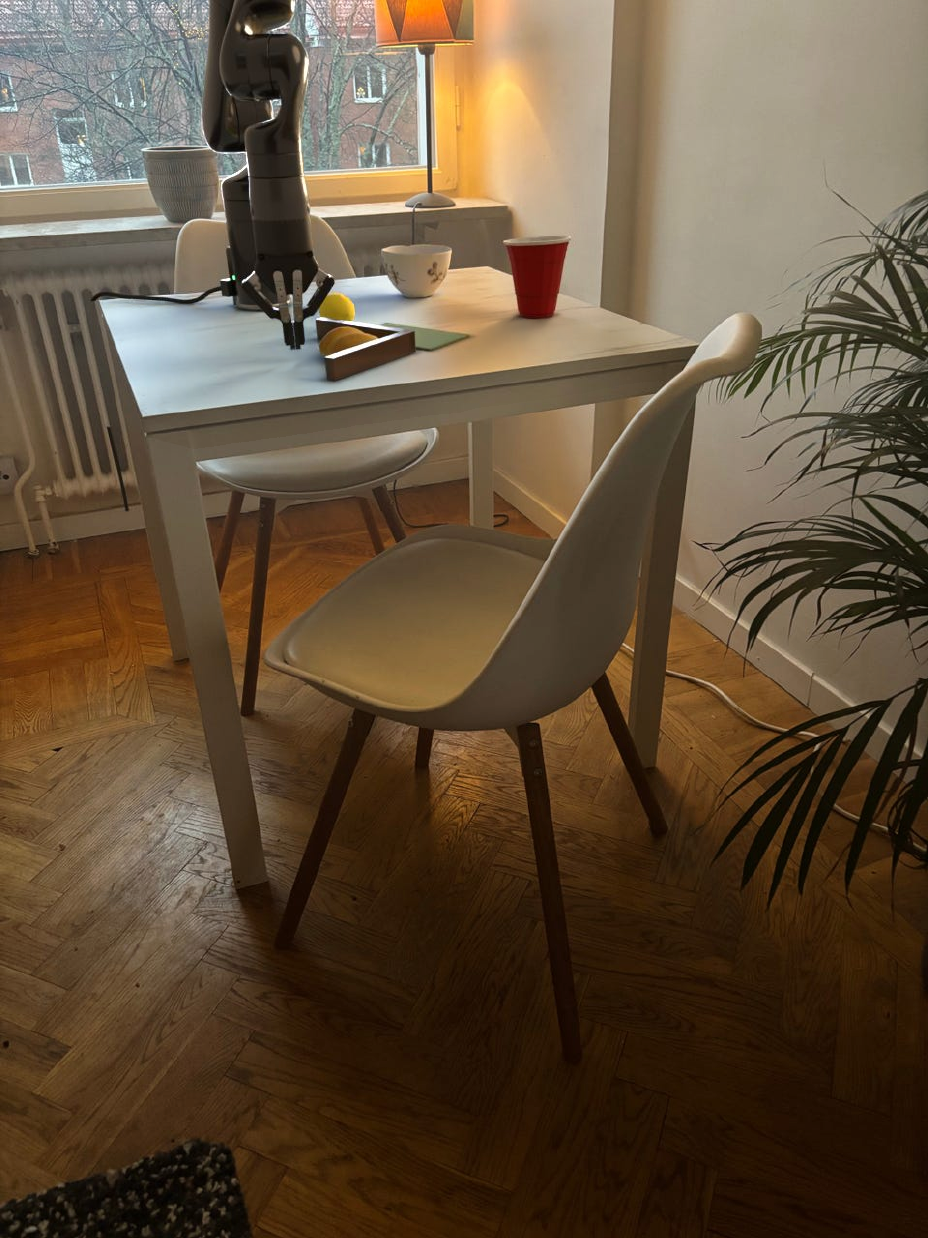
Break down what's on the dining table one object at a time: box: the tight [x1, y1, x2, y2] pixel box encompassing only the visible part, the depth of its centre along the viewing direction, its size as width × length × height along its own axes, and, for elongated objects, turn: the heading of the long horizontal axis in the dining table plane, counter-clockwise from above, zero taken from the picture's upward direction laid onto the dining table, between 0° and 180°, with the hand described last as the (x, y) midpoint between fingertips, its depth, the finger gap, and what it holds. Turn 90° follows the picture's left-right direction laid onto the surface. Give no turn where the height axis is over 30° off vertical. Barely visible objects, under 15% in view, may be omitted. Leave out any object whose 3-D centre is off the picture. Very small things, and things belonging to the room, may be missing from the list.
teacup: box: [380, 243, 453, 299], centre depth 168 cm, size 15×12×8 cm
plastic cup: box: [502, 235, 572, 319], centre depth 150 cm, size 11×11×12 cm
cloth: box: [378, 322, 470, 352], centre depth 141 cm, size 16×10×1 cm, turn 56°
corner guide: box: [315, 317, 417, 382], centre depth 131 cm, size 18×18×3 cm
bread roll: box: [318, 327, 378, 359], centre depth 131 cm, size 8×9×4 cm
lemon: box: [318, 292, 356, 322], centre depth 146 cm, size 7×5×5 cm
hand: (295, 348), depth 130 cm, fingers closed
